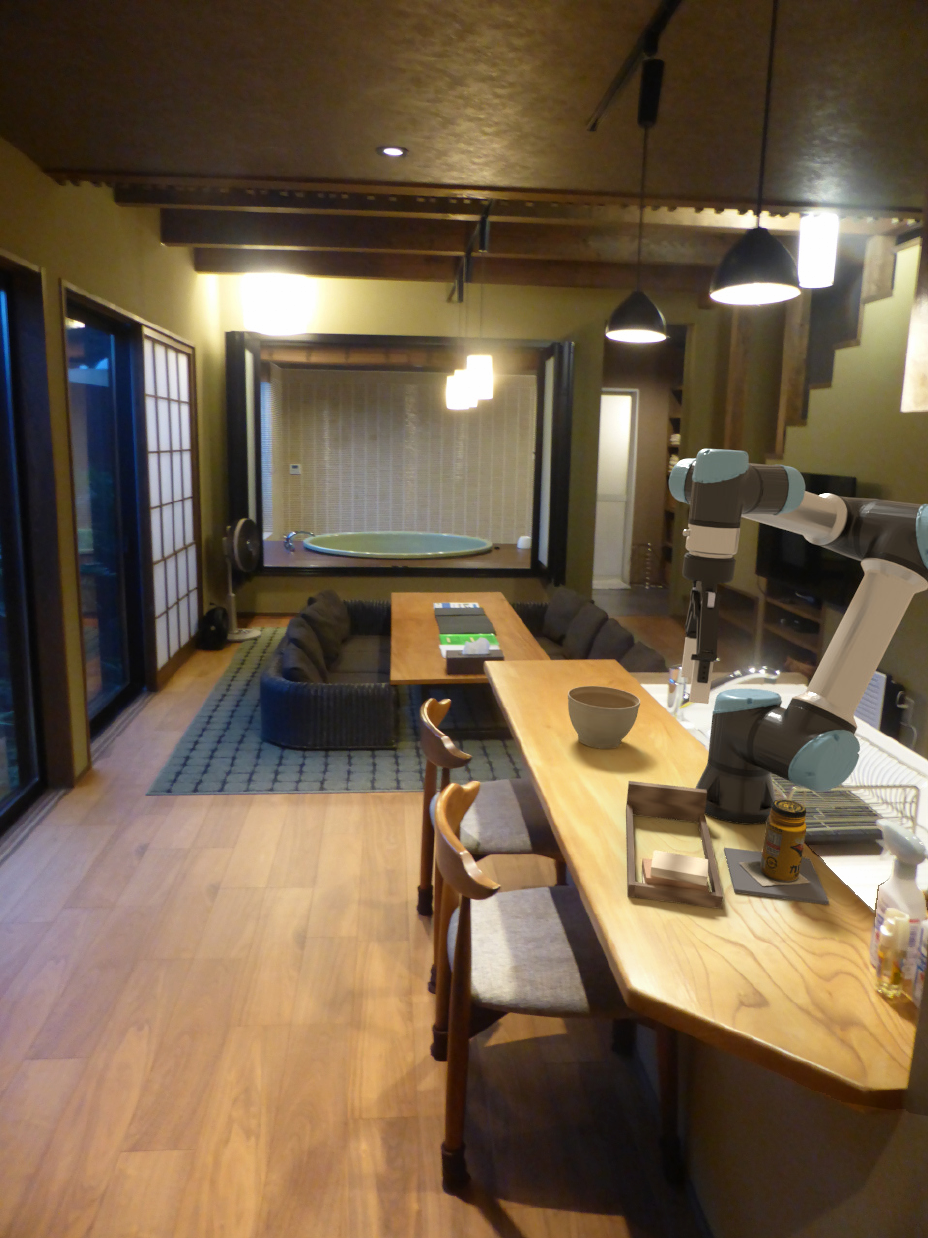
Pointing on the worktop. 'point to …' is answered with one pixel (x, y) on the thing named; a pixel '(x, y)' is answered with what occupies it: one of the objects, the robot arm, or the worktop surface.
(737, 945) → the worktop surface
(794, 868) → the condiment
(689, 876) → the offcut stack
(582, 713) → the planter bowl
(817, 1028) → the worktop surface
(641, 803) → the tray
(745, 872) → the slate mat
